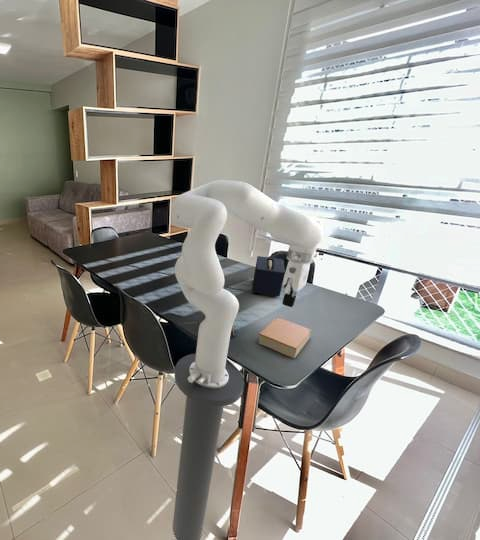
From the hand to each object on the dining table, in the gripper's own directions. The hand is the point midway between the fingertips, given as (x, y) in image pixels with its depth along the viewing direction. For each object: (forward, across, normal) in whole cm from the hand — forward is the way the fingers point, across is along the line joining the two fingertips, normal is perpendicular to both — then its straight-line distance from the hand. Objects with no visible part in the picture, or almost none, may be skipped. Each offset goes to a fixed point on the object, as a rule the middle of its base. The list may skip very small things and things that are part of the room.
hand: (287, 305), depth 101 cm
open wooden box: (+18, +6, 0) cm, 19 cm away
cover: (+14, +5, 0) cm, 15 cm away
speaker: (+17, +49, +24) cm, 57 cm away
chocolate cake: (+18, -4, +19) cm, 26 cm away
